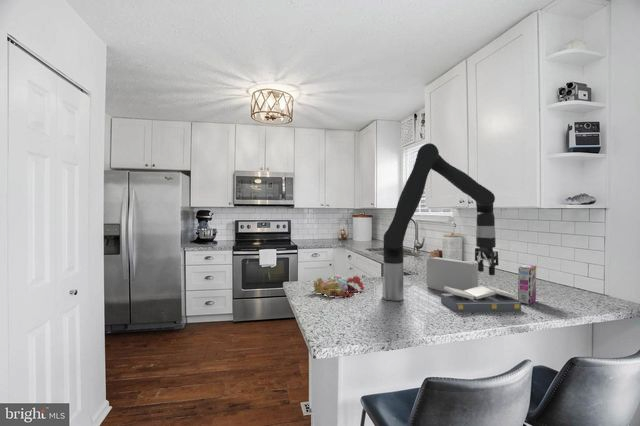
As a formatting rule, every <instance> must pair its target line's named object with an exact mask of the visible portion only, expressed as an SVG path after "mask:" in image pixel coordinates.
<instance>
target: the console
mask: <svg viewBox="0 0 640 426" xmlns="http://www.w3.org/2000/svg"><path fill="white" fill-rule="evenodd" d="M440 303H441V304H442V305H444V306H446V307H447V308H448V309H450V310H451V311H453V312H455V313H463V312H465V313H467V312H469V313H470V312H477V313H478V312H521V311H522V304H521V301H519V300H518V298H517V299H516V298H512V297H508V296H504V295H500V294H497V293H496V294H494V295H491V296H487V297H484V298H480V299H475V298H474V299H470V298H466V297H462V296H458V295H454V294H452V293H440Z"/></svg>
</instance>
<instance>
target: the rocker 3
mask: <svg viewBox="0 0 640 426" xmlns="http://www.w3.org/2000/svg"><path fill="white" fill-rule="evenodd" d="M484 287H486V288H488V289H491V290H493V291H495V293H497V294H500V295H504V296H508V297H512V298H514V299H517V300H518V295H515V294H514V293H511V292H508V291H505V290H503V289H499V288H496V287H492V286H488V285H484Z"/></svg>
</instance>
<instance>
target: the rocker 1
mask: <svg viewBox="0 0 640 426" xmlns="http://www.w3.org/2000/svg"><path fill="white" fill-rule="evenodd" d="M444 289H445V290H447V291H449V292H451V293H450V294H454V295H458V296H462V297H466V298H470V299H474V296H472V295H470V294H468V293H466V292H464V291H462V290H458V289H454V288H450V287H446V286H444Z"/></svg>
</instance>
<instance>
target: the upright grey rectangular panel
mask: <svg viewBox="0 0 640 426" xmlns="http://www.w3.org/2000/svg"><path fill="white" fill-rule="evenodd" d="M426 286H427V288H430V289H433V290H437V291H441V292H444V293H447V294H452V293H451V292H449V291H447V290H445V289H444V286H446V287H450V288H454V289H458V290H462V291H464V290H468V289H471V288H475V287H478V286H479V271H478V263H477V262H474V261H466V260H460V259H459V260H458V259H451V258H445V257H436V256H435V257H429V258H427V259H426Z"/></svg>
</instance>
